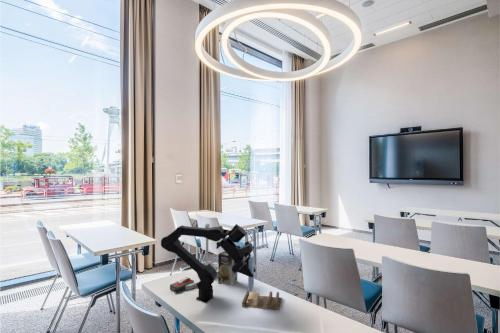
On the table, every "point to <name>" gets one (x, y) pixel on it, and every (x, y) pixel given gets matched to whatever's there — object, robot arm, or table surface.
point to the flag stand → (207, 253)
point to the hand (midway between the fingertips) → (254, 274)
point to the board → (251, 267)
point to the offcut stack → (252, 299)
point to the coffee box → (226, 269)
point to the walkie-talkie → (183, 285)
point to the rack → (265, 302)
